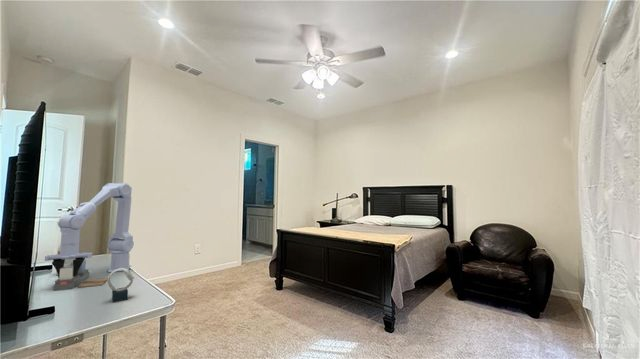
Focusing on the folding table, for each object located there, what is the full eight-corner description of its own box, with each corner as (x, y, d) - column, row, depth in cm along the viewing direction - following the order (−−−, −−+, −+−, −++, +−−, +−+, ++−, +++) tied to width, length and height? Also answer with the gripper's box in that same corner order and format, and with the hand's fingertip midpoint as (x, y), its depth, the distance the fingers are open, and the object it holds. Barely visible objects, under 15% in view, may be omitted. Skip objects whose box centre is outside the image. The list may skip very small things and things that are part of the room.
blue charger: (73, 274, 120) (74, 260, 120) (85, 273, 122) (85, 259, 122) (69, 276, 116) (70, 262, 117) (81, 275, 118) (82, 261, 118)
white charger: (63, 280, 111) (64, 266, 111) (75, 279, 113) (76, 265, 113) (58, 283, 107) (59, 268, 108) (71, 282, 109) (72, 267, 109)
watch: (133, 298, 99) (135, 268, 100) (106, 303, 94) (108, 272, 94) (132, 293, 103) (133, 265, 104) (105, 299, 98) (107, 268, 99)
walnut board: (86, 281, 117) (86, 279, 117) (108, 279, 120) (108, 277, 120) (77, 287, 109) (77, 286, 109) (102, 285, 112) (102, 284, 112)
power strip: (78, 273, 127) (78, 266, 127) (93, 272, 129) (94, 265, 129) (52, 290, 105) (53, 281, 105) (72, 288, 107) (73, 280, 108)
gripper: (41, 246, 104) (39, 281, 103) (88, 244, 110) (86, 277, 109) (50, 243, 111) (48, 276, 110) (94, 241, 117) (92, 272, 116)
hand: (67, 276), depth 110 cm, fingers closed on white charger, 4 cm apart
